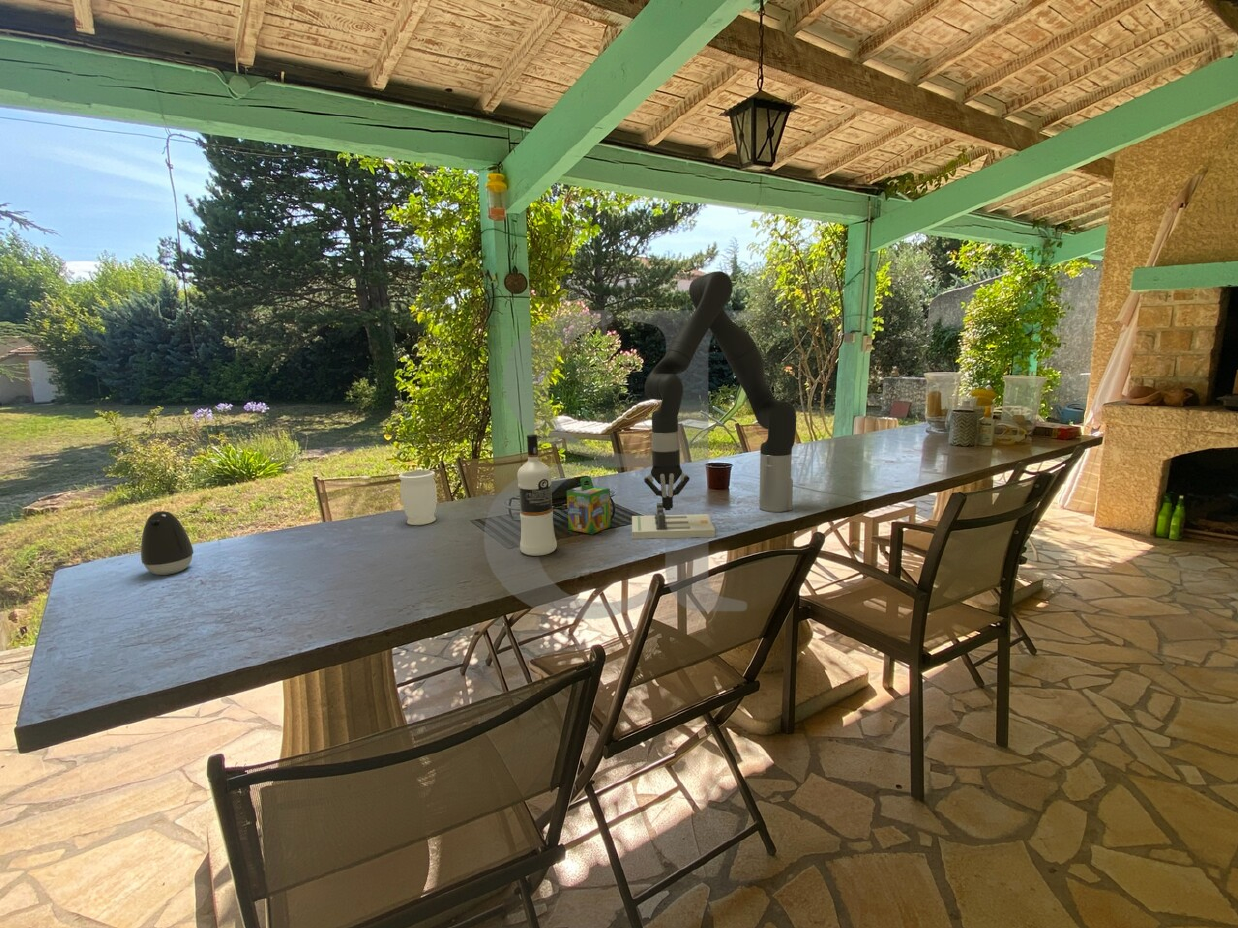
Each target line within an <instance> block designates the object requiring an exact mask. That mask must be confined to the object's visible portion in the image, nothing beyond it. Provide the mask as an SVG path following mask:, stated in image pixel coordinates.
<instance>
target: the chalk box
mask: <svg viewBox="0 0 1238 928" xmlns="http://www.w3.org/2000/svg"><path fill="white" fill-rule="evenodd" d="M579 482H580V486H578V487H574V488H573V487H572V488H571V489H567V490H566V505H567V507H566V508H567V509H566V510H567V524H568V525H567V527H568V530H569V531H574V532H580V533H584V534H588V535H594V534H596V533H599V532H601V531H604V530H607V529H609V528H611V527H612V516H611V515H612V513H611V512H612V511H611V510H612V508H611V488H607V487H601V486H597V485H593V481H592V477H591V476H590V475H589V476H585V477H581V478H580V479H579ZM585 482H588V484H586V485H585Z"/></svg>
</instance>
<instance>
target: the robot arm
mask: <svg viewBox="0 0 1238 928" xmlns="http://www.w3.org/2000/svg"><path fill="white" fill-rule="evenodd" d="M733 285H734V284H733V281H732V279H731V278H730V276H729V275H728V274H727V273H726V272H723V271H721V270H719V271H713V272H708V273H707V274H704V275H700V276H699V277H697V278H694V279H692V281H691V283H690V285H689V289H688V294H689V295H688V296H689V298H690V300H691V303H692V305H693V307H694V308H695V310H694V312H693V313H692V315H691V316H690V317H689V318H688V320H686V322H685V323H684V324H683V325H682V326H681V328H679V330H678V331H677V333H676V334H675V335H674V337H673V339H672V341H671V343H670V344H669V346H668V348H667V350H666V352H665V355H664V356H663V357H662V359H661V360H660V361H659V362H658V363H657V364H656V366H655V367H653V369H652V370H651V372H650V373H648V375H647V378H646V381H645V384H644V390H645V391H644V392H645V394H646V396H647V397H648V398H649V399H651V400H655V401H661V405H660V408H657V409H656V410H653V411H652V414H651V460H652V461H651V464H652V467H651V470H650V473H649V474H647V476H645V477H643V481H644V483H645V484H646V485H647V487H649V488H650V490H651V491H652V492H653V493H654V495H656V496H659V497H661V501H662V502H661V503H662V506H663V509H664V511H671V510H672V509H673V507H674V499H673V498H674V496H676V495H677V496H678V495H679V494H680V493H681V492H682V490H683V489H684V487H685V486H686V485H687V484H688V483H689V481H690V476H689V474H686V473H684V472H683V469H682V468H681V458H680V457H681V456H680V455H681V451H680V450H681V449H680V447H681V444H680V436H679V435H680V434H679V418H678V417H679V413H680V408H681V405H682V399H683V394H684V386H683V382H682V379H681V378H680V377H679V375H678V374H681V373H682V374H683V373H684V372H685V371H687V369H688V368H689V366H690V364H691V362H692V360H693V358H694V357H695V354H696V352H697V351H698V350H697V349H698V347H699V346H700V345H701V343H702V341H703V339H704V338H705V335H706V334H707V332H708V330H709V331H710V332H711V334H712V335H713V338H714V339H715V340H716V343H717V345H718V346H719V348H720V350H721V352H722V354H723V355H724V357H725V359H726V361H727V363H728V365H729V367H730V369H731V371H732V372H733V374H734V375H735V377H736V380H737V381H738V383H739V385H740V386H741V388H742V390H743V392H744V393H745V395H746V398H747V400H748V403H749V404H750V408H751V409H752V412H753V414H754V418H755V419H756V421H757V423H758V424H759V426H760V427H762V428H763V429H765V430H768V431H767V439H766V441H765V442H762V443H761V444H760V451H759V453H760V454H759V455H760V456H759V457H760V458H759V464H760V465H759V500H758V502H759V503H758V504H759V505H758V506H759V509H760V510H763V511H765V512H772V513H781V512H787V511H788V512H789V511H792V510H793V495H794V494H793V493H794V492H793V491H794V489H793V488H794V479H793V478H792V459H793V458H792V455H793V447H794V446H795V443H796V442H795V441H796V434H797V433H796V431H797V430H796V429H797V412H796V408H795V406H794V404H792V403H791V402H789V401H785V400H779V399H776V398H775V396H774V395H773V393H772V391H771V390H770V388H769V386H768V384H767V382H766V376H765V364H764V360H763V357H762V354H761V352H760V350H759V348H758V346H757V344H756V343H755V340H754V339H753V338H752V336H751V335H750V334H749V333H748V332H747V331H746V330H744V329H743V328H742V327H741V326H740V325H738V324H737V323H736V322H735V321H733V320H732V319H731V318H730V317H729V315H728V314H727V312H726V311H725V309H724V308H725V306H726V305H727V303H728V302H729V300H730V298H731V296H732V294H733ZM679 479H680V481H679V483H678V484H677V485H676V487H675V488H674V484H676V483H677V481H678V480H679ZM654 480H655V481H656V482H657V484H658V485H660V489H659V488H658V487H657V486H656V485H655V484H654ZM666 486H667V487H666Z"/></svg>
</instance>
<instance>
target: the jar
mask: <svg viewBox="0 0 1238 928" xmlns="http://www.w3.org/2000/svg"><path fill="white" fill-rule="evenodd" d="M435 476H436V472H435V471H434V470H428V469H427V470H423V469H422V470H411V471H407V472H402V473H400V474H399V475H398V478H399V479H398V480H400V487H399V488H400V489H399V490H400V491H399V492H400V499H401V503H402V506H403V510H404V513H405V515H406V517H407V521H406V523H407V524H408V525H411V526H422V525H428V524H431V523H433V522H435V521H436V519H437V518H436V516H435V515H434V514H435V513H436V509H437V497H438V493H437V491H438V490H437V485H436V484H437V483H436V481H435V479H434V477H435Z"/></svg>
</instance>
